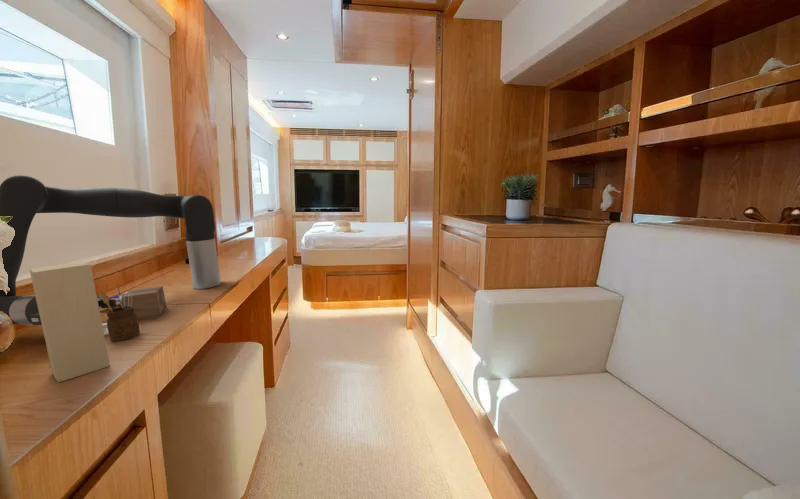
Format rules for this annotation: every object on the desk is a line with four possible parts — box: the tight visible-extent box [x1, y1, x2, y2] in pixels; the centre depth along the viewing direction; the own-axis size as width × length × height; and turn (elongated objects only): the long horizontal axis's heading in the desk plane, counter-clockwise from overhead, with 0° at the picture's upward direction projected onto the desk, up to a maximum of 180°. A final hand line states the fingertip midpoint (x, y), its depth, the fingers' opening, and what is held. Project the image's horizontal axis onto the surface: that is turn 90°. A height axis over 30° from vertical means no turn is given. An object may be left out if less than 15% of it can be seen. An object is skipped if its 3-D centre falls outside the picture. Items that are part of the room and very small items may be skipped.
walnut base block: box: [122, 285, 168, 321], centre depth 102 cm, size 8×8×7 cm
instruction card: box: [102, 322, 109, 336], centre depth 92 cm, size 10×7×1 cm
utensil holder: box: [98, 289, 141, 342], centre depth 86 cm, size 6×6×12 cm
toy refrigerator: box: [29, 261, 111, 383], centre depth 69 cm, size 8×7×21 cm
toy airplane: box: [108, 287, 125, 306], centre depth 111 cm, size 13×14×4 cm
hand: (99, 309), depth 86 cm, fingers open, 8 cm apart
